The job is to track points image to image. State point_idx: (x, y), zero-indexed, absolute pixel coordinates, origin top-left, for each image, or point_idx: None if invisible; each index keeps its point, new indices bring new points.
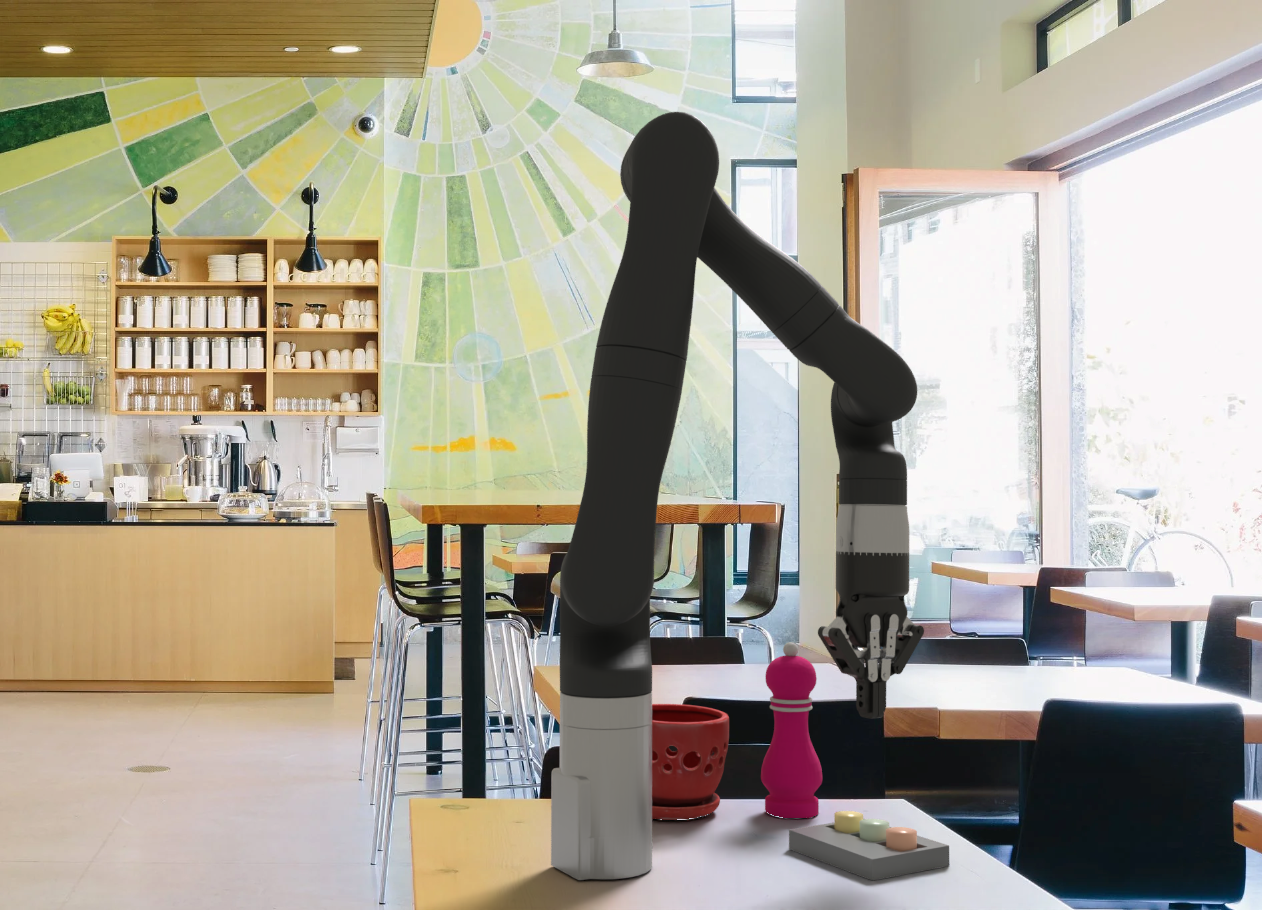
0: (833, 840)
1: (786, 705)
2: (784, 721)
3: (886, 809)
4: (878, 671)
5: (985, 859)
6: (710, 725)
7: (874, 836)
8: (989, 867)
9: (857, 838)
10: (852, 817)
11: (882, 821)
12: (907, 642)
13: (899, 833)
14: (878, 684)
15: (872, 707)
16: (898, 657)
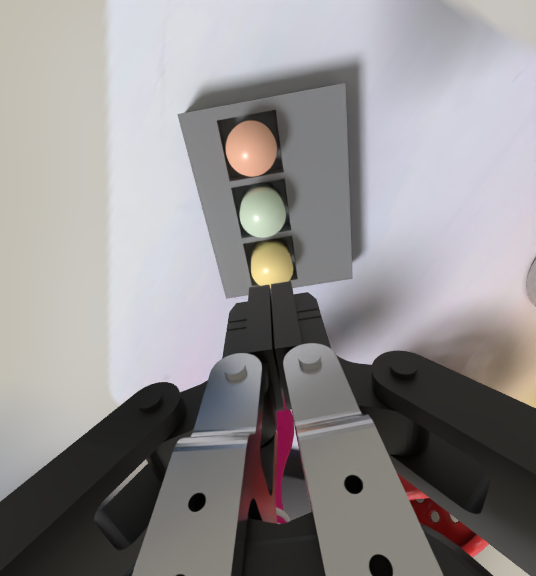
0: (332, 208)
1: (278, 518)
2: (276, 492)
3: (137, 376)
4: (263, 395)
5: (110, 126)
6: (406, 489)
7: (274, 192)
8: (124, 80)
9: (293, 206)
10: (277, 252)
11: (247, 216)
12: (14, 563)
13: (264, 134)
14: (271, 345)
15: (293, 295)
16: (131, 457)
